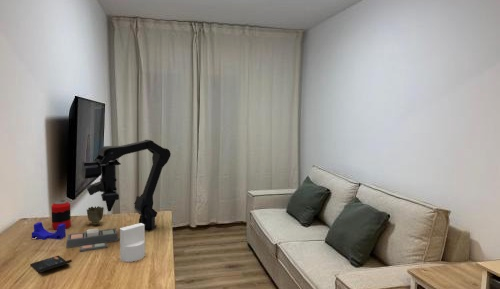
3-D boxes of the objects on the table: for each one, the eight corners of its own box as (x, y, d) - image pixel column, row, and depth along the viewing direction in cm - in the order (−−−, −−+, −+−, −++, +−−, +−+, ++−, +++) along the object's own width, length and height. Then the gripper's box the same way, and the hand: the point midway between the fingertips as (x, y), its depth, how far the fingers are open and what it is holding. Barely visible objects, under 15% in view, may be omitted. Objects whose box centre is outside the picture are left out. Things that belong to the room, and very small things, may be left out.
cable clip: (31, 239, 140) (31, 225, 140) (39, 235, 145) (38, 222, 144) (59, 241, 139) (58, 227, 139) (65, 237, 144) (65, 223, 143)
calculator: (58, 257, 125) (58, 249, 125) (71, 267, 118) (71, 259, 117) (30, 266, 118) (29, 258, 118) (42, 277, 111) (42, 269, 110)
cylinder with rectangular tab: (127, 264, 121) (126, 232, 120) (115, 256, 127) (115, 226, 126) (149, 256, 128) (149, 226, 126) (137, 249, 134) (137, 220, 132)
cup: (99, 227, 156) (99, 210, 155) (84, 226, 156) (83, 210, 155) (106, 221, 163) (106, 206, 162) (91, 221, 163) (91, 205, 162)
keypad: (116, 234, 148) (116, 227, 148) (118, 240, 141) (118, 233, 141) (66, 241, 139) (66, 234, 139) (66, 248, 133) (65, 240, 132)
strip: (106, 244, 137) (106, 242, 137) (107, 247, 134) (107, 245, 134) (79, 248, 132) (79, 246, 132) (79, 251, 130) (79, 249, 129)
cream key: (98, 233, 143) (98, 228, 143) (98, 237, 139) (98, 231, 139) (86, 235, 141) (86, 229, 141) (87, 239, 137) (87, 233, 137)
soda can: (73, 224, 159) (72, 199, 157) (66, 230, 151) (66, 204, 150) (56, 224, 158) (55, 200, 156) (49, 230, 150) (48, 204, 149)
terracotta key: (82, 238, 140) (82, 233, 140) (82, 242, 137) (82, 237, 136) (71, 240, 138) (70, 235, 138) (70, 244, 135) (70, 238, 134)
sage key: (113, 234, 146) (113, 229, 146) (114, 238, 142) (114, 233, 142) (102, 236, 144) (102, 231, 144) (102, 240, 140) (102, 234, 140)
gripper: (87, 172, 146) (88, 207, 148) (88, 182, 129) (89, 220, 131) (114, 171, 151) (114, 204, 153) (118, 179, 135) (119, 216, 136)
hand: (109, 211), depth 143 cm, fingers closed
